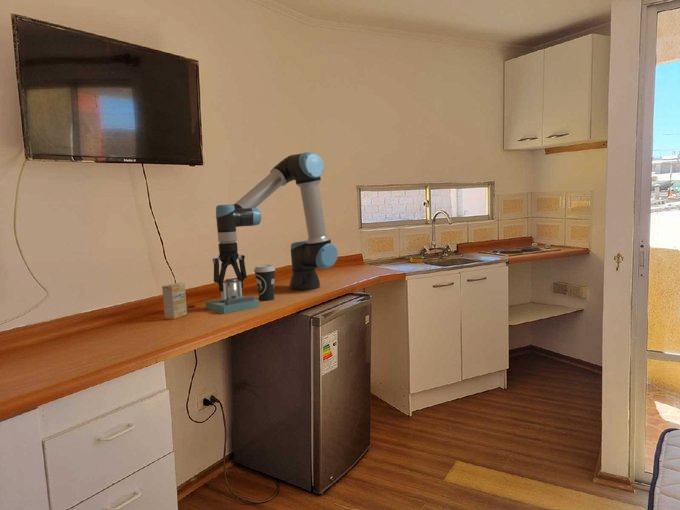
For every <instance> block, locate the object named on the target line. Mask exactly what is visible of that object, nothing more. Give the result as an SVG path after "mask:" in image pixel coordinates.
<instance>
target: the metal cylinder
mask: <svg viewBox="0 0 680 510" xmlns="http://www.w3.org/2000/svg"><path fill="white" fill-rule="evenodd" d="M224 281H225V288H226V299H227V300H233V299H238V285H237V281H238V278H237V277H236V278H235V277H234V278H232V277H231V278H224Z"/></svg>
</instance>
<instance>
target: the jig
mask: <svg viewBox="0 0 680 510" xmlns="http://www.w3.org/2000/svg"><path fill="white" fill-rule="evenodd" d="M205 308H206V310H209V311H213V312H217V313H219V314H231V313H236V312H242V311H245V310H251V309H252V310H253V309H256V308H260V300H259V299H257V298H255V296H253V295H251V296H243V295H242V297H240V296H238V299H233V300H227V299H222V298H220V299H213V300H208V301H205Z"/></svg>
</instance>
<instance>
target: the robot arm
mask: <svg viewBox="0 0 680 510" xmlns="http://www.w3.org/2000/svg"><path fill="white" fill-rule="evenodd" d="M324 170H325V164H324V161H323V159H322V158H321V156H320V155H318V154H317V153H315V152H308V151H307V152H302V153H297V154H291V155H288V156H287V157H285V158H283V159H282V160H281V161H280V162H278V163H277V164H276V165H275V166H274V167H272V168H271V169H270V171H269V174H267V176H265V177H264V178H263V179H261V181H260V182H258V183H257V184H256V185H255V186H254V187H253V188H251V189H250V190H249V191H248V192H247V193H245V194H244V195H243V196H241V198H240V199H239V200H237V201H236V202H235V203H233V204H217V205H216V207H215V219H216V228H217V229H216V230H217V239H218V240H217V241H218V253H219V254H218V257H214V258H212V262H213V283H217V284H218V291H219V292H220V293H221V294H220V295H221V299H226V282H225V283H224V281H225V277H226V273H227V269H228V267H229V266H230V265H231V266H232V268H233V271H234V273H235V276H236V279H237V285H238V296H240V297H242V296H243V291H242V290H243V288H244V283H243V282H244V281H245V279H247V277H248V276H247V270H246V263H245V257H246V256H245V255H244V254H239V253H238V243H237V242H236V241H238V237H237V228H238V227H241V228H242V227H254V226H259V225H260V223H261V222H262V213H261V211H260V209H259V208H258V207H259V206H260V205H261V204H262V203H263V202H264V201H265V200H266V199H267V198H268V197H270V196H271V195H273V194H274V193H275V191H277V190H278V189H279V188H281V187H284V186H286V185H287V184H288V183H289V182H293V181H295V185H296V186H297V187H299V188H300V195H301V201H302V206H303V213H304V218H305V223H306V231H307V236H308V237H307V240H302V241H295V242H292V243H291V244H290V259H291V260H290V261H291V272H292V273H291V277H290V282H289V289H290V290H295V291H303V290H304V291H305V290H306V291H307V290H312V289H313V290H314V289H318V288H320V287H321V281H320V279H319V277H318V273H317V269H321V270H324V269H330V268H332V267H333V266H334V265H335V264H336V262H337V260H338V255H339V253H338V249H337V247H336V246H335V244H333V243H332V241H331V237H330V236H328V234H327V230H326V223H325V216H324V211H323V205H322V199H321V192H320V187H319V184H320V183H321V181H322V179H321V176H322V175H323V172H324ZM237 260H238V262H237ZM220 263H221V264H220Z"/></svg>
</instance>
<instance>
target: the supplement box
mask: <svg viewBox="0 0 680 510" xmlns="http://www.w3.org/2000/svg"><path fill="white" fill-rule="evenodd" d="M161 289H162V301H163V311H164V312H163V313H164V320H176V319H180V318H182V317H185V316H187V315H188V310H187V309H188V308H187V297H186V284H185V282H175V283H170V284H167V285H166V284H165V285H162V286H161Z"/></svg>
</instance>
